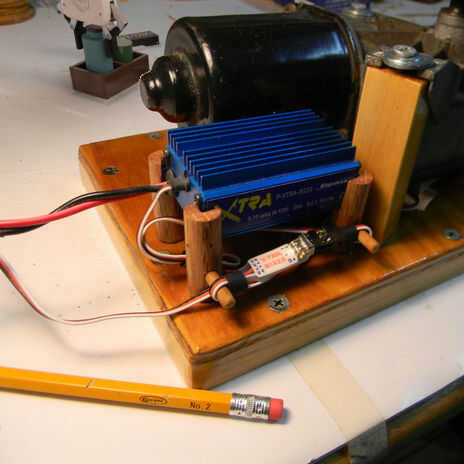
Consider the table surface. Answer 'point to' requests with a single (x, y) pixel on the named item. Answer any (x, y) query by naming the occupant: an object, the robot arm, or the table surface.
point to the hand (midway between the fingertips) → (97, 51)
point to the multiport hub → (142, 38)
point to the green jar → (124, 51)
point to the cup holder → (109, 76)
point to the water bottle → (96, 50)
